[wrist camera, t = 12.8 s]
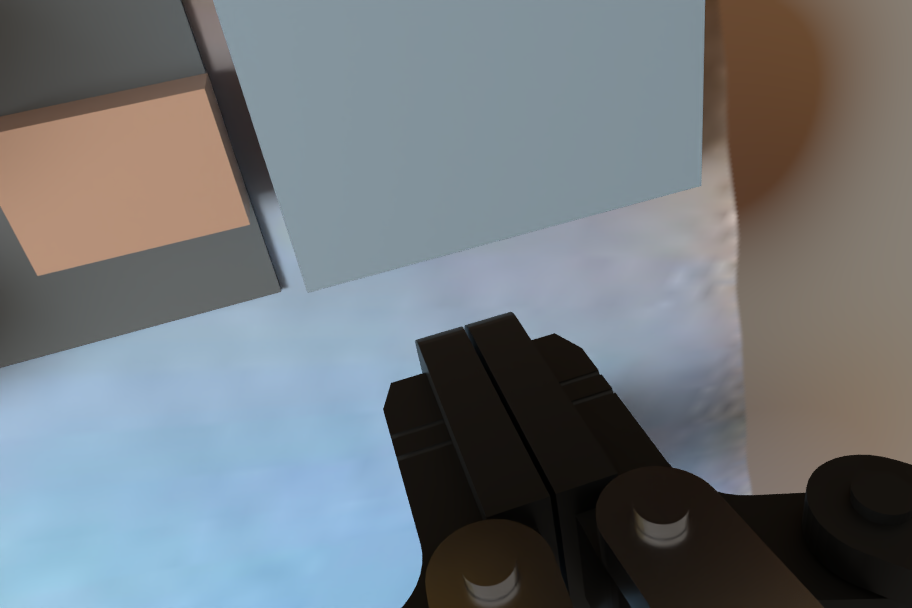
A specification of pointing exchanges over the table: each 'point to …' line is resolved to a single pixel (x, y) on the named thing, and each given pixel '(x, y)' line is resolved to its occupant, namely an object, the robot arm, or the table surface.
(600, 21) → the block
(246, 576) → the table surface
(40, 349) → the mat
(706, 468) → the table surface
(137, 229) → the tan rectangular block
